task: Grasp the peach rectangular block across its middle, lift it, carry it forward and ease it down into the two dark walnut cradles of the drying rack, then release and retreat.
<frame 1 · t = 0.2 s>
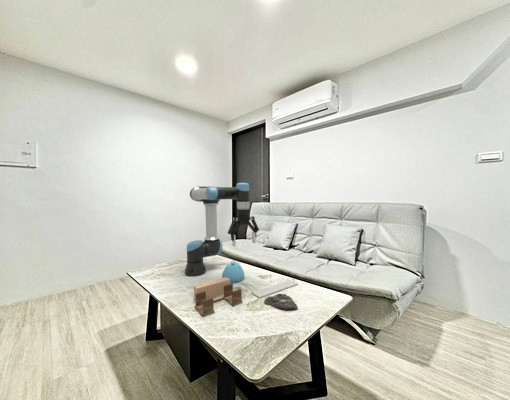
hand: (244, 244, 129), 27 cm above the table, fingers open, 13 cm apart
rack: (219, 305, 112), on the table
baseboard: (274, 289, 131), on the table
peach rectangular block: (212, 296, 123), on the table
dark grey rock: (283, 303, 113), on the table
sugar bowl: (233, 279, 148), on the table
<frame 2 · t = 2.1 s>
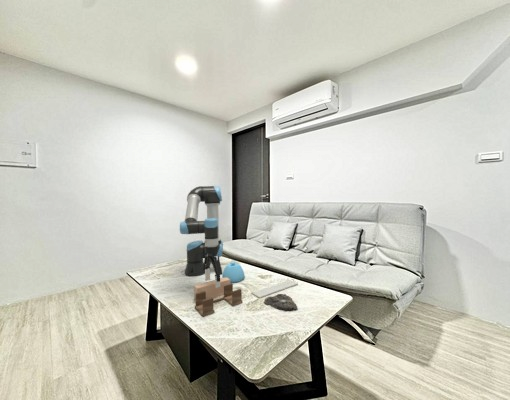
hand: (212, 283, 122), 7 cm above the table, fingers open, 13 cm apart
nothing on the table moved.
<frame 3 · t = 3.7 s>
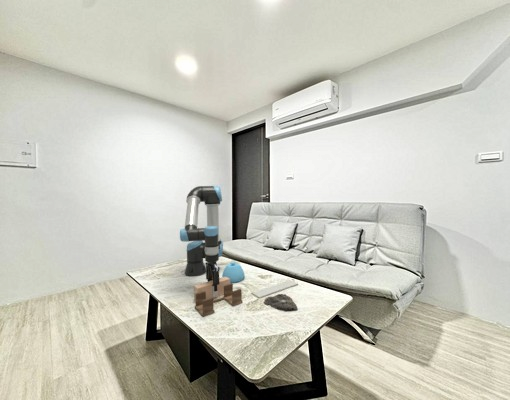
hand: (212, 294, 123), 1 cm above the table, fingers closed on peach rectangular block, 5 cm apart
peach rectangular block: (212, 296, 123), on the table, touching gripper
everything else where it was.
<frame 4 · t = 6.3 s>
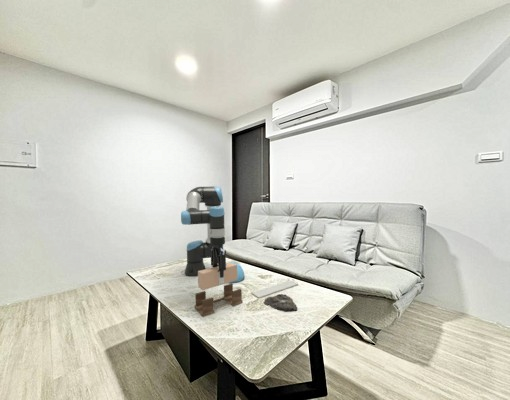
hand: (218, 281, 111), 12 cm above the table, fingers closed on peach rectangular block, 5 cm apart
peach rectangular block: (218, 283, 111), point 12 cm above the table, touching gripper
everything else where it was.
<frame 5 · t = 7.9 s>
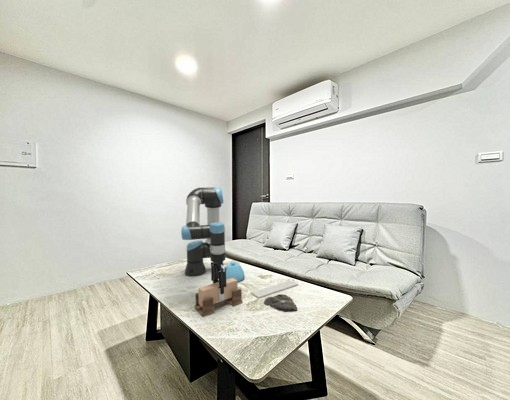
hand: (218, 297, 112), 4 cm above the table, fingers closed on peach rectangular block, 5 cm apart
peach rectangular block: (219, 299, 112), point 3 cm above the table, touching gripper
everything else where it was.
when the fingers open (3 cm above the table, at t = 9.1 s): peach rectangular block drops 1 cm, resting on rack.
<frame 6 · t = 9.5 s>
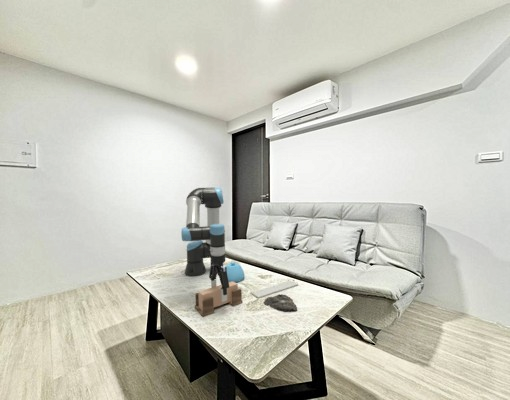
hand: (218, 296, 112), 5 cm above the table, fingers open, 11 cm apart
peach rectangular block: (219, 303, 112), point 1 cm above the table, touching rack
everything else where it was.
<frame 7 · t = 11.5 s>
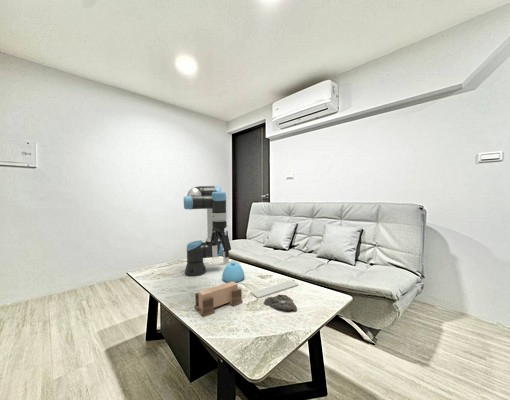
hand: (220, 260, 116), 22 cm above the table, fingers open, 13 cm apart
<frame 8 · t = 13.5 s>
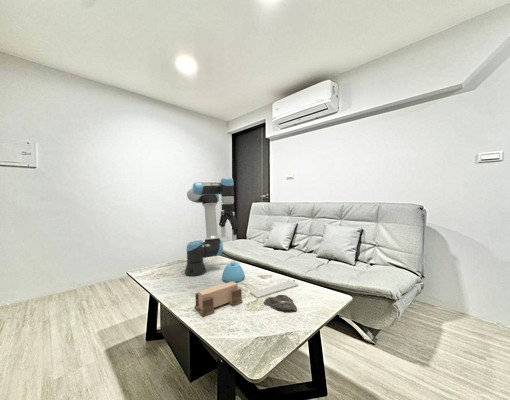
hand: (228, 238, 131), 31 cm above the table, fingers open, 13 cm apart
at the end: peach rectangular block 0.0 cm off-centre on the rack, point 1.2 cm above the rack's base; peach rectangular block tilted 0°; the gripper is holding nothing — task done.
